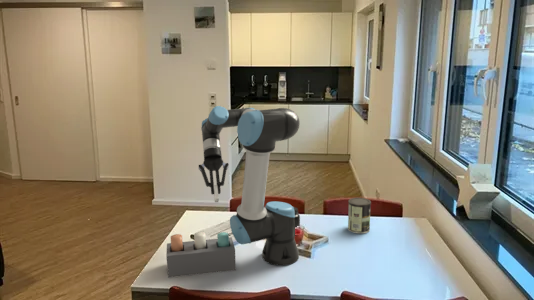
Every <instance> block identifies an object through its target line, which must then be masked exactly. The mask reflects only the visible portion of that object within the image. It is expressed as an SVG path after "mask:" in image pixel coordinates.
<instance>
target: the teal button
mask: <svg viewBox="0 0 534 300" xmlns="http://www.w3.org/2000/svg"><path fill="white" fill-rule="evenodd" d="M229 238H230V237H229V233H228V232H225V231H222V232H219V233H217V238H216V239H218V248H219V247H229Z"/></svg>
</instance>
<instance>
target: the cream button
mask: <svg viewBox="0 0 534 300" xmlns="http://www.w3.org/2000/svg"><path fill="white" fill-rule="evenodd" d="M206 235H207V234H206V232H204V231H203V232H202V231H200V232H199V231H198V232H195V233H194V234H193V238H194V240H193V241H195V250H199V249H206V240H207V237H206Z"/></svg>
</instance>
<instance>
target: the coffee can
mask: <svg viewBox="0 0 534 300" xmlns="http://www.w3.org/2000/svg"><path fill="white" fill-rule="evenodd" d="M371 205H372V201H371V200H370V199H368V198H365V197H353V198H350V199H348V215H347V216H348V217H347V218H348V219H347V220H348V221H347V223H348V224H347V230H348V231H349V232H351V233H354V234H366V233H369V232H370V231H371V228H370V227H371Z"/></svg>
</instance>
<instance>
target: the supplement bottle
mask: <svg viewBox="0 0 534 300" xmlns="http://www.w3.org/2000/svg"><path fill="white" fill-rule="evenodd" d="M293 208H294V212H295V227H297V226H300V225H301V224H300V223H301V216H300V214H299V209H298V207H295V206H293ZM300 227H301V226H300Z"/></svg>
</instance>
